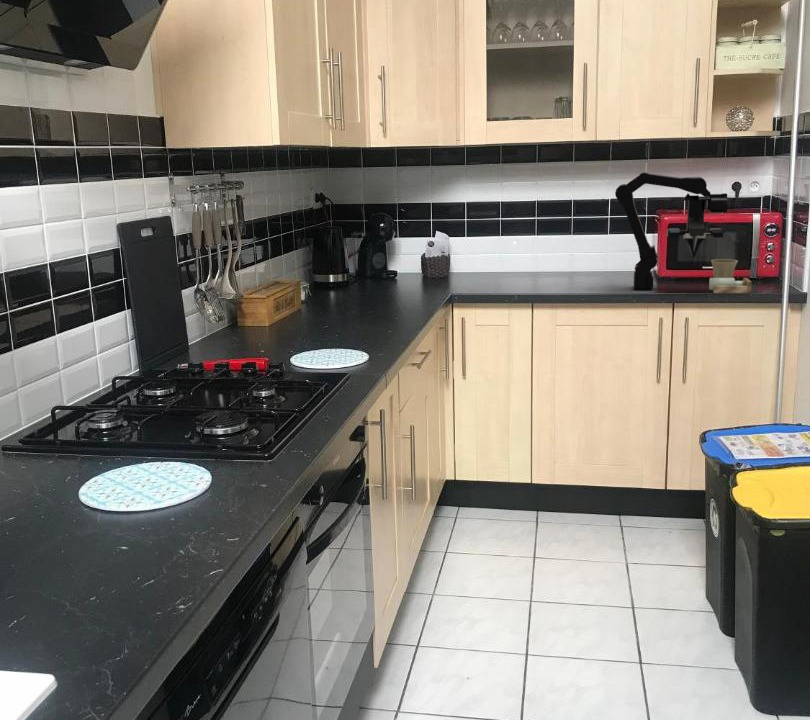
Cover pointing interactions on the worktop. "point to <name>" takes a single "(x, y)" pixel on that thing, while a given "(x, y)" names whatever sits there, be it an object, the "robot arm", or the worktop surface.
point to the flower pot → (723, 268)
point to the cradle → (734, 288)
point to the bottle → (724, 282)
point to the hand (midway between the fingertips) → (693, 257)
